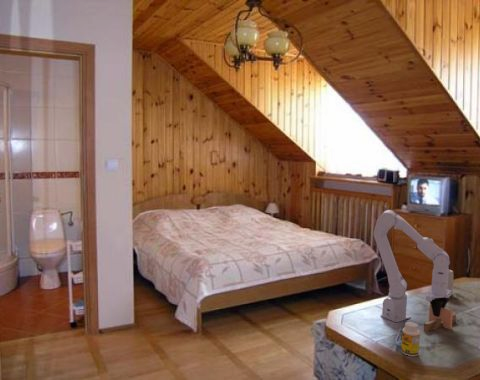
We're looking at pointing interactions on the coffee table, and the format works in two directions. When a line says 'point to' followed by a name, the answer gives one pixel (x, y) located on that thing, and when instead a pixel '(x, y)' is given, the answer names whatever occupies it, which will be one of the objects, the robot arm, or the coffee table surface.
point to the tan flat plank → (442, 317)
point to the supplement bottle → (410, 339)
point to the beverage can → (450, 280)
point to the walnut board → (436, 324)
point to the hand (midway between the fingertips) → (437, 315)
